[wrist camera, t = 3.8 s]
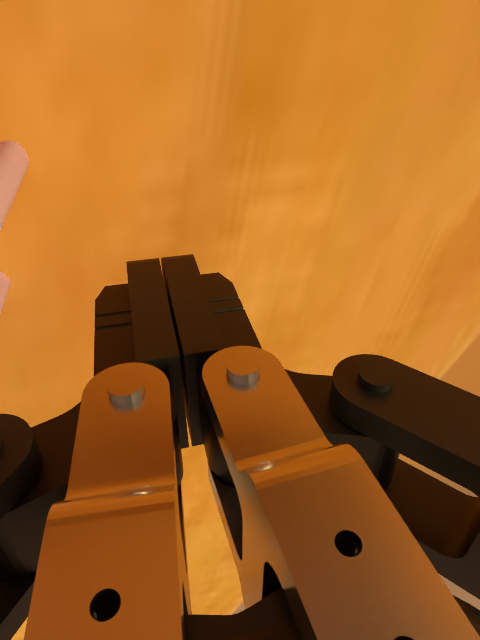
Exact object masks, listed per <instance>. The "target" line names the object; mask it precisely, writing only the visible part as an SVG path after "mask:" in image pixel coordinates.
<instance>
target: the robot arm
mask: <svg viewBox="0 0 480 640" xmlns="http://www.w3.org/2000/svg"><path fill="white" fill-rule="evenodd" d="M126 263H127V274H128V284H120V285H112V286H105V287H104V289H103V290H102V292H101V293H100V294H99V296H98V297H97V298H96V300H95V340H94V377H93V378H92V379H91V380H90V381H89V382H88V384H87V385H86V387H85V389H84V390H83V394H82V399H81V402H80V403H79V404H77V405H76V406H75V407H73V408H72V409H71V410H69V411H67V412H66V413H64V414H62V415H60V416H58V417H55V418H53V419H51V420H48V421H46V422H43V423H41V424H39V425H36V426H34V427H31V428H30V426H29V425H28V423H27V422H26V421H24V420H23V419H21V418H20V417H17V416H14V415H10V414H0V640H11V638H12V637H13V636H14V634H15V633H16V632H17V630H18V629H19V628H20V626H21V625H22V624H23V622H24V621H25V620H26V618H27V617H28V620H27V625H26V631H25V636H24V640H480V610H478V609H477V608H475V607H473V606H472V605H470V604H469V603H467V602H465V601H463V600H461V599H459V598H457V597H455V596H454V595H452V594H451V592H450V591H449V589H448V588H447V586H446V585H445V583H444V582H443V580H442V579H441V577H440V576H439V574H440V575H442V576H444V577H445V578H447V579H448V580H450V581H451V582H453V583H455V584H456V585H458V586H459V587H461V588H462V589H464V590H466V591H467V592H469V593H470V594H472V595H474V596H475V597H477V598H478V599H480V397H479V396H477V395H474V394H472V393H470V392H467V391H464V390H462V389H460V388H458V387H455V386H453V385H451V384H448V383H446V382H444V381H441V380H439V379H436V378H434V377H432V376H429V375H427V374H425V373H422V372H420V371H418V370H415V369H413V368H411V367H408V366H406V365H403V364H401V363H399V362H396V361H394V360H392V359H389V358H386V357H383V356H379V355H372V354H361V355H354V356H350V357H348V358H345V359H344V360H342V361H341V362H339V363H338V364H337V366H336V367H335V369H334V371H333V376H326V375H313V374H302V373H296V372H292V371H289V370H286V369H284V367H283V366H282V364H281V363H280V361H279V360H278V359H277V358H276V357H275V356H274V355H273V354H271V353H269V352H268V351H265V350H263V349H262V348H261V346H260V343H259V341H258V339H257V337H256V334H255V332H254V330H253V328H252V326H251V323H250V321H249V319H248V317H247V314H246V312H245V310H243V305H242V303H241V301H240V299H239V298H238V294H237V292H236V290H235V288H234V285H233V283H232V282H231V281H229V280H228V279H226V278H225V277H224V276H222V275H221V274H220V273H210V274H202V275H200V272H199V269H198V267H197V264H196V261H195V258H194V255H193V254H190V255H182V256H173V257H164V258H161V263H162V271H161V266H160V261H159V258H156V259H147V260H138V261H129V262H126ZM162 273H163V275H162ZM186 418H187V423H188V428H189V433H190V438H191V443H192V446H196V445H201V444H204V446H205V451H206V455H207V459H208V475H209V481H210V484H211V487H212V491H213V494H214V497H215V500H216V503H217V506H218V510H219V513H220V516H221V519H222V522H223V525H224V529H225V532H226V535H227V538H228V541H229V545H230V548H231V551H232V554H233V557H234V560H235V564H236V567H237V570H238V574H239V579H240V583H241V589H242V595H243V600H244V605H245V610H244V611H242V612H240V613H237V614H234V615H192V610H191V600H190V589H189V577H188V564H187V550H186V537H185V523H184V510H183V496H182V485H181V480H182V477H183V462H182V454H181V449H182V448H187V447H189V443H188V433H187V423H186ZM399 454H402V455H404V456H406V457H408V458H410V459H411V460H413V461H415V462H417V463H419V464H421V465H423V466H425V467H427V468H429V469H430V470H432V471H434V472H436V473H438V474H440V475H442V476H444V477H446V478H448V479H449V480H451V481H453V482H455V483H457V484H459V485H461V486H463V487H465V488H467V489H468V490H470V491H472V492H473V493H475V494H476V495H477V496H478V497H472V496H469V495H466V494H464V493H462V492H460V491H458V490H456V489H454V488H453V487H451V486H449V485H447V484H445V483H443V482H441V481H439V480H438V479H436V478H434V477H432V476H430V475H428V474H426V473H424V472H422V471H421V470H419V469H417V468H415V467H413V466H411V465H409V464H408V463H406V462H404V461H402V460H400V459H398V457H399ZM438 573H439V574H438Z"/></svg>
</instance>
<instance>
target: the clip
mask: <svg viewBox="0 0 480 640" xmlns="http://www.w3.org/2000/svg"><path fill="white" fill-rule="evenodd" d="M28 165H29V158H28V156H27V154H26V152H25V150H24V149H23V147H22V146H21V145H20V144H18V143H17V142H14V141H9V140H7V141H4V142H1V143H0V230H1V228H2V226H3V223H4V221H5V219H6V216H7V214H8V212H9V209H10V207H11V205H12V202H13V200H14V198H15V195H16V193H17V191H18V189H19V186H20V184H21V182H22V179H23V177H24V175H25V172H26V170H27V168H28ZM9 287H10V280H9V279H8V278H7V276H5V275H4V274H3V273H2V272H1V271H0V314H1V311H2V308H3V305H4V302H5V299H6V296H7V293H8V290H9Z"/></svg>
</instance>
